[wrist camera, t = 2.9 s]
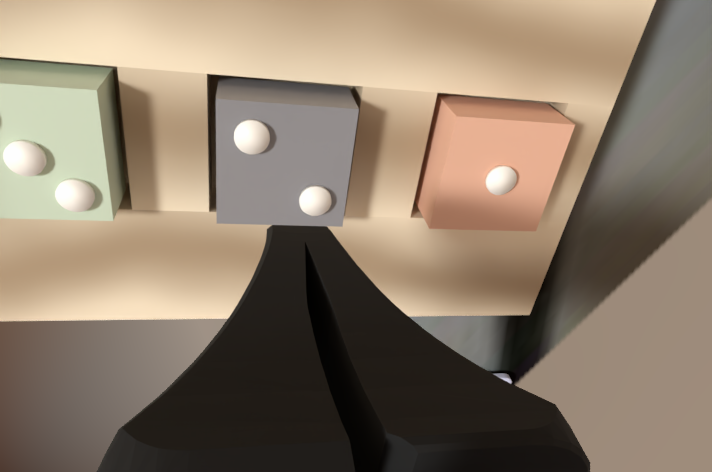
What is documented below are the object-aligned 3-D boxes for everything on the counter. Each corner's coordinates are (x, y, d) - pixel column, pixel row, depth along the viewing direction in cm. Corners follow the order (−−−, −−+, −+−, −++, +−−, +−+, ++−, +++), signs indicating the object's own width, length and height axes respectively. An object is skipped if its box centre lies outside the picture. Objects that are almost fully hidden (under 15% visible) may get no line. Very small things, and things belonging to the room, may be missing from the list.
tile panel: (507, 280, 25) (529, 314, 23) (-22, 278, 20) (-51, 321, 18) (627, -57, 18) (675, -49, 16) (-163, -180, 13) (-236, -190, 11)
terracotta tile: (513, 203, 21) (538, 234, 19) (414, 199, 20) (430, 232, 18) (546, 103, 19) (578, 127, 17) (437, 94, 18) (458, 118, 16)
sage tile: (125, 189, 18) (112, 224, 16) (-10, 184, 17) (-41, 221, 15) (112, 68, 16) (94, 92, 14) (-43, 55, 15) (-84, 80, 13)
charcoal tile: (334, 196, 19) (343, 229, 17) (219, 192, 18) (216, 227, 17) (348, 87, 17) (360, 111, 15) (219, 76, 16) (215, 101, 14)
